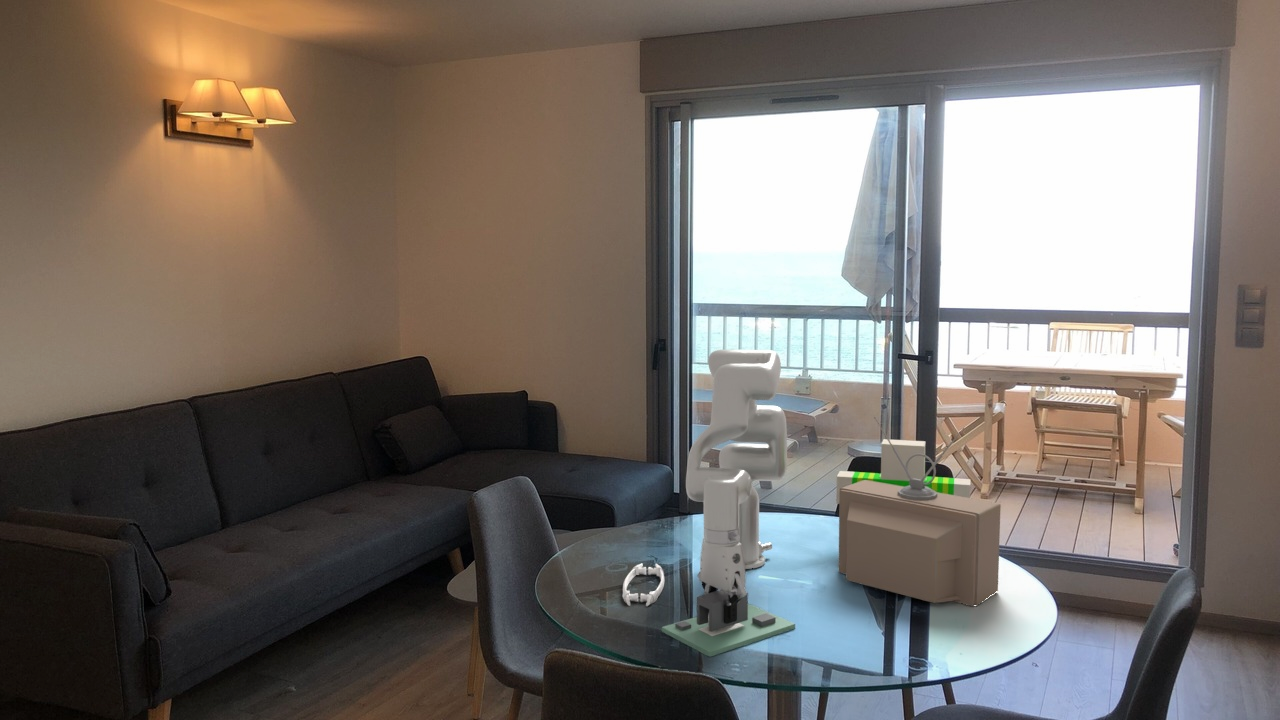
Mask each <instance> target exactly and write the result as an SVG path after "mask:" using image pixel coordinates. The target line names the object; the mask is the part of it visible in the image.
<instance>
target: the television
mask: <svg viewBox="0 0 1280 720" xmlns="http://www.w3.org/2000/svg"><path fill="white" fill-rule="evenodd" d="M873 418H874V420H875V422H877V424H878V426H879V428H880V430H881V432H882V433H883V435H884V437H885V439H887V440H888V441H889V443H890V445H891V446H892V448H893V451H894V452H895V454H896V456H897V458H898V459H899V461H900V463H901V465H902V466H903V468H904V470H905V472H906V474H907V476H908V478H909V479H910V481H909V484H910V485H909V486H905V487H903V486H897V485H892V484H886V483H880V482H875V481H869V480H863V481H860V482H857V483H854V484H851V485H848V486H846V487H843V488H840V493H839V504H838V506H839V509H838V511H839V512H838V517H839V519H838V572H839V573H840V574H845V575H846V576H845V579H846V581H848V582H853V583H856V584H861V585H862V586H863V585H864V586H867V587H871V588H874V589H879V590H883V591H886V592H887V591H888V592H890V593H895V594H899V595H901V596H902V595H903V596H906V597H909V598H913V599H918V600H922V601H925V602H929V603H934V604H938V603H945V602H954V603H957V602H958V603H957V604H961V603H963V604H962V605H965V604H967V605H966V606H969V605H971V606H970V607H974V606H973V605H978V604H979V603H981V602H982V601H984V600H985V599H986V598H988V597H989V596H990V595H992V594H994V593H995V592H996V591H998V592H999V570H1000V569H999V568H1000V567H999V564H1000V563H999V562H1000V536H1001V535H1000V534H1001V533H1000V531H1001V530H1000V529H1001V509H1002V508H1001V506H1002V505H1001V503H998V502H995V501H994V502H993V501H988V500H983V499H977V498H971V497H970V498H966V497H960V496H955V495H949V494H943V493H938V492H935V491H934V490H932V489H930V488H929V487H926V486H925V485H928V484H930V483H931V482H932V481H933V480H934V478H935V477H936V473H937V468H936V465H937V464H938V463H939V461H940V460H941V459H942V458H943V455H945V453H946V452H947V451H948V449H949V448H950V447H951V446H952V445H953V444H954V442H955V441H956V439H957V438H958V437H959V436H960V434H961V433H962V432H963V431H964V430H965V427H963V428H962V429H961V431H959V433H958V434H957V435H956V436H954V439H952V441H951V442H950V443H949V444H948V446H947V447H946V448H945V449H944V451H943V452H941V454H939V456H938V457H937V459H936V460H935V461H934V462H933V459H931V458H930V457H929V456H928V455H926V454H925V455H924V454H914V455H912V456H911V457H910V458H908V460H907V462H906V467H905V465H904V463H903V461H902V460H901V458H900V456H899V455H898V453H897V451H896V449H895V448H894V447H893V445H892V444H891V442H890V440H891V439H890V438H889V437H888V436H887V434H886V432H885V430H884V429H883V427H882V426H881V425H880V423H879V421H878V420H877V418H876V416H874V417H873ZM889 439H890V440H889ZM915 456H923V457H925V459H927V460H928V461H929V462H930V464H931V466H930V468H929V469H928V470H927V471H926V472H925V475H924V477H923V478H922V479H921V480H920V479H912V477H911V475H910V474H909V472H908V463H909V461H910V459H912V458H913V457H915ZM932 470H933V475H932V476H931V477H932V479H931V480H930V481H929V482H927V483H924V482H923V481H924V479H925V478H926V477H927V476H928V475H929V474H930V473H931V472H932ZM984 602H985V601H984ZM981 604H982V603H981ZM979 605H980V604H979ZM979 605H978V606H979Z"/></svg>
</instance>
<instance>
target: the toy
mask: <svg viewBox="0 0 1280 720" xmlns="http://www.w3.org/2000/svg"><path fill="white" fill-rule="evenodd" d="M888 439H889V440H890V442H891V444H892V445H893V447H894V448H895V449H896V451H897V453H898V455H899V456H900V458H901V460H902V461H903V463H904V465H905V467H906V462H907V460H908V458H910V457H911V456H912V455H914V454H924V455H926V441H924V440H908V439H907V440H905V439H890V438H888ZM880 447H881V449H880V451H881V453H880V454H881V456H880V457H881V458H880V459H881V460H880V473H878V472H863V471H862V472H860V471H849V470H848V471H847V470H840V471H839V472H838V474H837V475H836V499H835V500H836V501H835V502H836V504H838V505H839V493H840V488H843V487H846V486H848V485H851V484H854V483H857V482H860V481H863V480H869V481H875V482H880V483H886V484H892V485H897V486H903V487H905V486H909V485H910V484H909V481H910V479H909V478H908V476H907V474H906V472H905V470H904V468H903V466H902V465H901V463H900V461H899V459H898V458H897V456H896V454H895V452H894V451H893V448H892V446H891V445H890V443H889V441H888V440H887V438H884V439H883V440H882V442H881V446H880ZM908 472H909V474H910V475H911V477H912V479H920V480H921V479H922V478H923V477H924V475H925V474H926V458H925V457H923V456H915V457H913V458H912V459H910V461H909V463H908ZM932 477H933V476H928V475H927V477H926V478H925V479H924V481H923V482H924V483H927V482H929V481H930V480H931V479H932ZM925 486H926V487H929V488H930V489H932V490H934V491H935V492H938V493H943V494H949V495H955V496H960V497H966V498H971V478H958V477H942V476H935V478H934V480H933V481H932V482H931V483H930V484H928V485H925Z"/></svg>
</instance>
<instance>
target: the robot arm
mask: <svg viewBox="0 0 1280 720" xmlns="http://www.w3.org/2000/svg"><path fill="white" fill-rule="evenodd" d="M707 362H708V369H709V372H710V374H711V376H712V377H713V386H712V387H713V389H712V400H711V401H712V403H711V411H710V423H709V426H708V427H707V428H705V429H704V430H703V431H702V432H701V433H700V434H699V436H698V437H697V438H696V439H695V441H694V442H693V443H692V446H691V448H690V451H689V453H688V456H687V457H688V458H687V465H686V475H685V489H686V490H685V491H686V495H687V497H688V498H689V499H690V500H692V501H694V502H701V503H703V538H702V544H701V550H700V564H699V565H700V566H699V567H700V569H699V572H698V573H697V578H698V580H699V581H700V583H701V587H702V588H703V593H704V594H708V593H711V592H714V591H718V590H722V591H724V596H725V601H726V605H724V623H726V624H728V623H731V622H735V621H737V604H738V603H739V601H740V600H741V599H742V598H743V597H744V596H746V595H747V593H748V591H747V590H746V588H745V587H746V570H751V569H752V568H753V569H757V568H760V567H762V566H763V565H765V562H766V559H765V558H766V557H765V556H764V555H763V554H764V552H765V551H771V550H772V549H773V544H772V543H771V542H770V541H769V542H765V543H762V542H761V541H760V497H759V494H758V492H757V490H756V488H755V487H754V486H753V482H754V481H755V482H756V481H758V482H760V481H761V482H763V481H764V482H778V481H781V480H784V478H785V476H787V475H786V474H787V470H788V430H787V418H786V414H785V412H784V410H783V409H782V408H781V407H780V406H777V405H772V404H771V405H764V404H761V405H760V404H757V401H770V400H773V399H774V398H775V397H776V394H777V392H778V387H779V382H780V378H781V377H780V376H781V372H782V371H781V369H782V367H781V359H780V356H779V354H778V353H777V352H776V351H775V350H770V349H769V350H768V349H731V348H730V349H717V350H713V351H712V352H711V353H710V354H709V356H708V361H707ZM729 441H732V442H733V443H729V444H725V445H724V446H723V447H722V448H721V449H720V452H719V454H718V463H719V464H718V465H719V467H702V466H701V463H702V460H703V458H704V456H706V454H707V453H709V451H710V450H712V449H713V448H715V447H717V446H719V445H721V444H724V443H727V442H729ZM734 442H735V443H734ZM730 593H732V594H733V596H732V597H731V598H730ZM704 594H703V595H704Z"/></svg>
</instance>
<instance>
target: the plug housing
mask: <svg viewBox="0 0 1280 720" xmlns="http://www.w3.org/2000/svg"><path fill="white" fill-rule="evenodd" d="M748 594H749V592H747V595H746V596H744V597H743V598H742V599H741V600H740V601H739V603H738V604H737V621H735V622H731V623H728V624H726V623H724V605H726V601H725V596H724V591H722V590H720V589H718V591H714V592H711V593H708V594H701V595H698V596H696V617H697V624H698V625H702V624H705V623H708V612H709V630H710V631H715V630H718V629H721V628H724V627H727V626H730V625H734V624H737V623H740V622H743V621H746V620H748V604H749V600H748V599H749V595H748ZM732 596H733V594H732V593H730V598H731V597H732Z"/></svg>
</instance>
